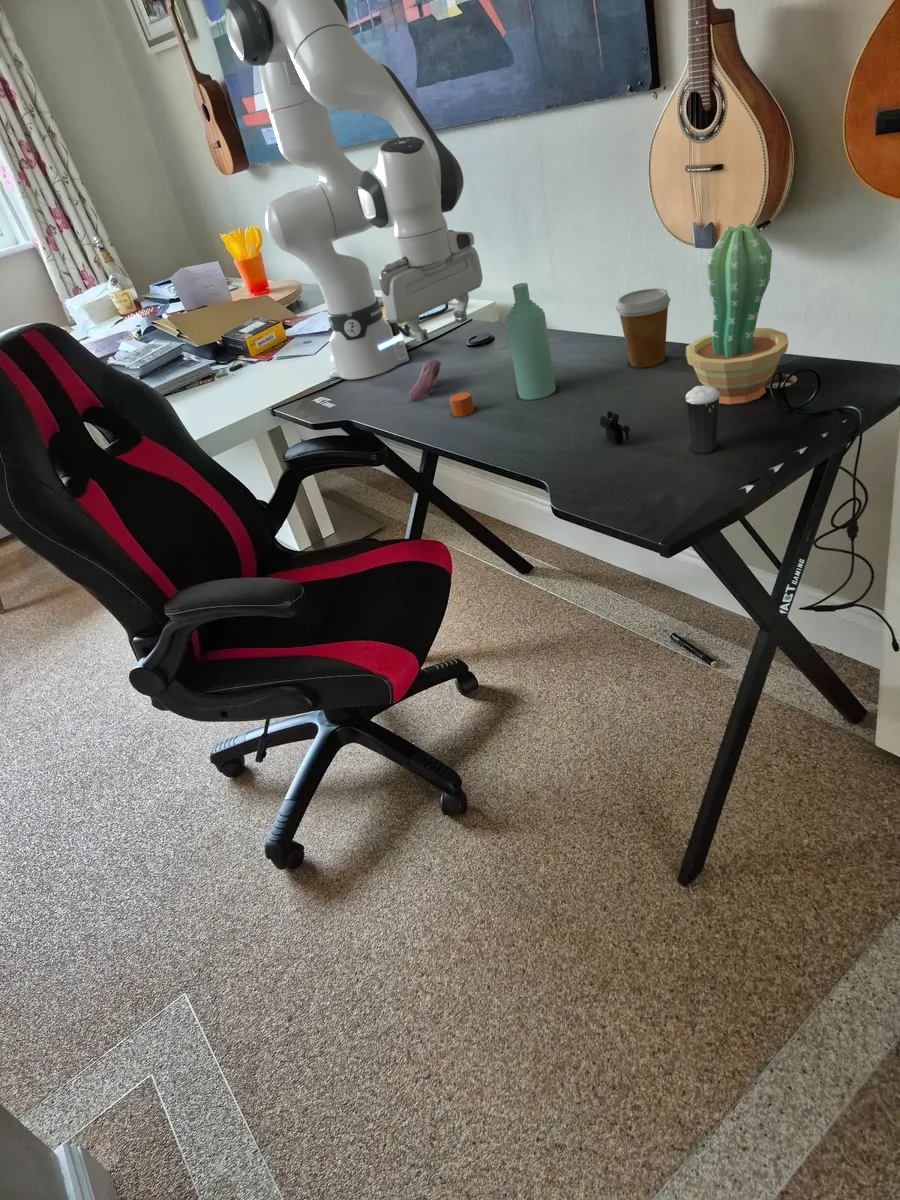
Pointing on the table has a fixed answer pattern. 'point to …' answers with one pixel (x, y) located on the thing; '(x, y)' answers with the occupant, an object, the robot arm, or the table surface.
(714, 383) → the potted cactus
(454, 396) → the cap
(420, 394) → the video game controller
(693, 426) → the glass of dark beer
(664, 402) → the table surface
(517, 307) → the bottle
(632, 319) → the disposable coffee cup
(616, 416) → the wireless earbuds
